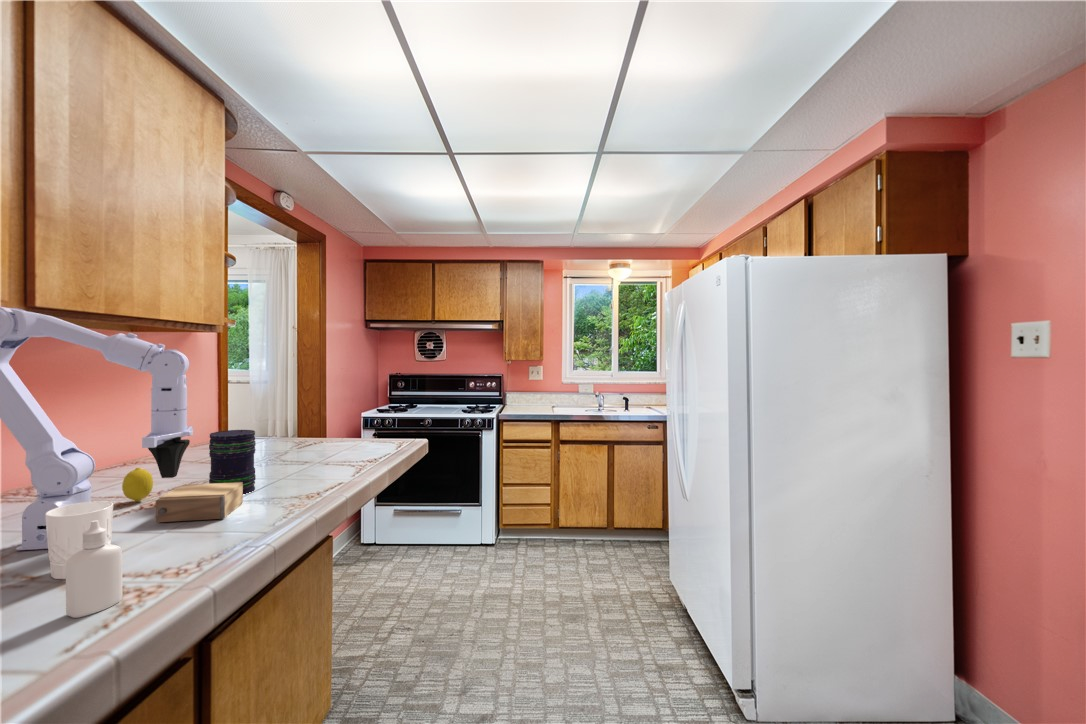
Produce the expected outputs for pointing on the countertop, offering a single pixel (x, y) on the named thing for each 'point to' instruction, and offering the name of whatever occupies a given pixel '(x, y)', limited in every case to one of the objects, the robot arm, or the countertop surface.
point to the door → (190, 508)
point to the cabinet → (211, 493)
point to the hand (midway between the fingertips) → (169, 477)
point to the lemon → (137, 484)
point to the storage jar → (233, 458)
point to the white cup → (73, 531)
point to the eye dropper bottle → (93, 574)
